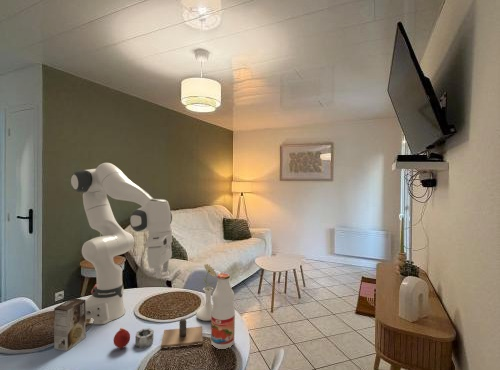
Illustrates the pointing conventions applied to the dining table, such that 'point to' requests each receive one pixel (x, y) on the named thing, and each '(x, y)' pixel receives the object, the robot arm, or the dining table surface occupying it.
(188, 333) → the post board
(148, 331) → the steel collar
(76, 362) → the dining table surface
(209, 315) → the flower in vase
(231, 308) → the fruit juice
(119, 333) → the onion
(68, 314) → the coffee box
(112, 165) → the robot arm
